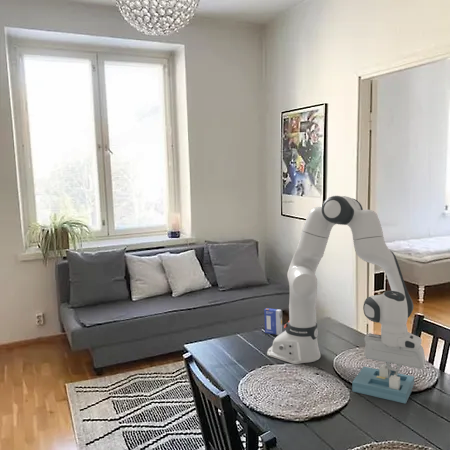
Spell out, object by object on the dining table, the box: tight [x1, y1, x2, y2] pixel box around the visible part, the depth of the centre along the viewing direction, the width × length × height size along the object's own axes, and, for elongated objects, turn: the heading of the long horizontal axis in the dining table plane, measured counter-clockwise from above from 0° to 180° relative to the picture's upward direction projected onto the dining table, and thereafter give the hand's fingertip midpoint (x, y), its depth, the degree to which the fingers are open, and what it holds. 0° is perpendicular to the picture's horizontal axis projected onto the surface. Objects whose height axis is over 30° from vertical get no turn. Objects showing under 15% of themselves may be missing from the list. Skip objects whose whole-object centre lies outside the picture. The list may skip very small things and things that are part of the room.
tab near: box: [389, 374, 400, 390], centre depth 158 cm, size 3×3×5 cm
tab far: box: [378, 363, 390, 378], centre depth 167 cm, size 3×3×5 cm
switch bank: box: [351, 366, 415, 404], centre depth 164 cm, size 18×14×4 cm
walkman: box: [263, 307, 283, 336], centre depth 220 cm, size 8×3×12 cm, turn 64°
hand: (393, 374), depth 165 cm, fingers closed
